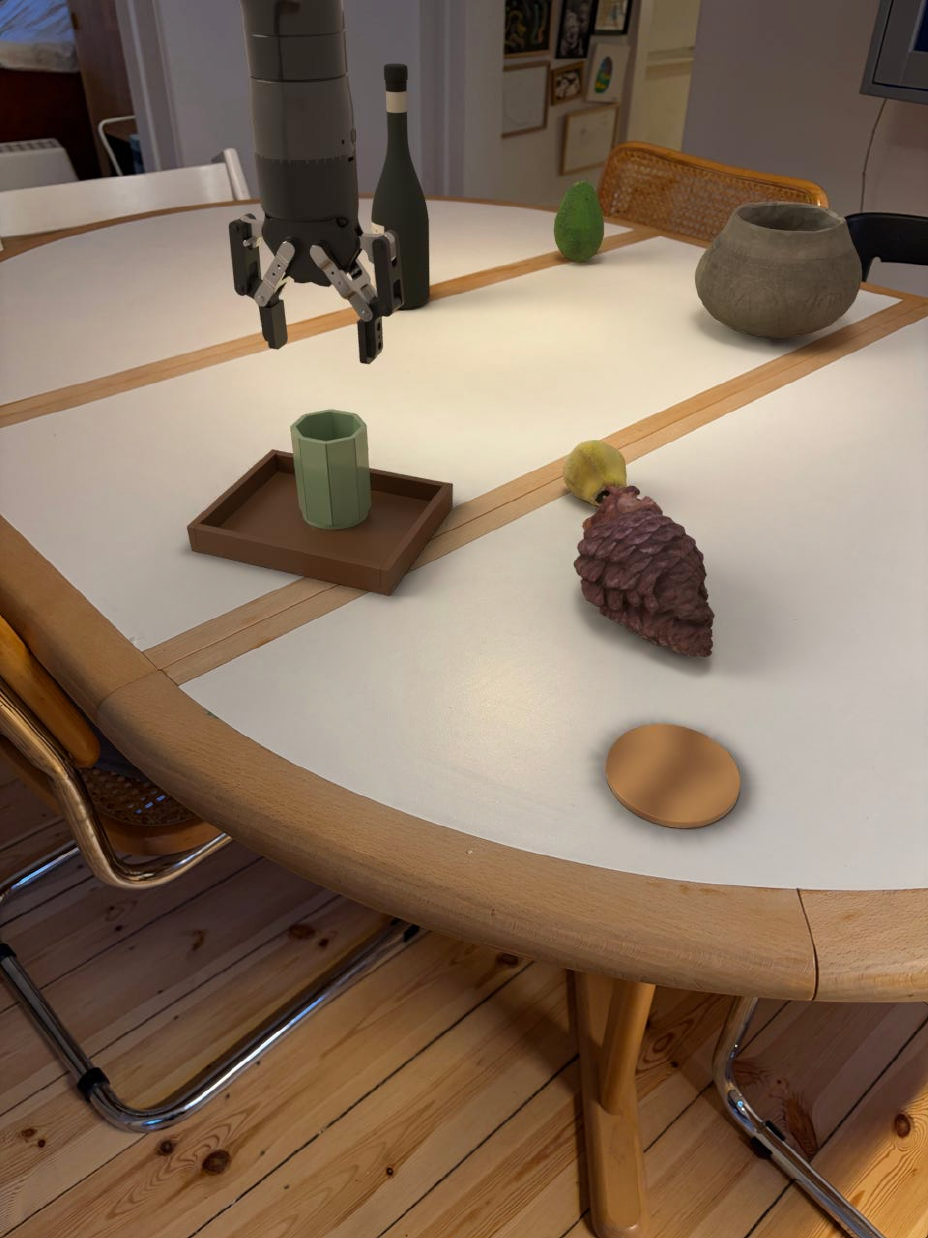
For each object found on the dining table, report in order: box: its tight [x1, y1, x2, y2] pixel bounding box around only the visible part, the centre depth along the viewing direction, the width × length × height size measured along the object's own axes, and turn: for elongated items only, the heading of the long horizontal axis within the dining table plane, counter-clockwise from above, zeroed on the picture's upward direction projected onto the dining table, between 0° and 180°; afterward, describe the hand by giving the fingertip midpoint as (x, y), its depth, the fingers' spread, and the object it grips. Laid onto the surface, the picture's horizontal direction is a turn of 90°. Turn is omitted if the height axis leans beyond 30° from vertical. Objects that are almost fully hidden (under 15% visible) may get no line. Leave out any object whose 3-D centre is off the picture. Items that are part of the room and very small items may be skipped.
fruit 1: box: [553, 180, 605, 263], centre depth 148 cm, size 8×8×12 cm
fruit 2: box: [562, 439, 628, 506], centre depth 91 cm, size 6×6×10 cm
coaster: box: [605, 723, 741, 829], centre depth 64 cm, size 9×9×1 cm
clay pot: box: [694, 200, 863, 339], centre depth 125 cm, size 22×21×15 cm
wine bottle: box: [370, 63, 431, 310], centre depth 127 cm, size 8×8×30 cm
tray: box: [186, 448, 454, 596], centre depth 87 cm, size 20×16×3 cm
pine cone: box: [572, 484, 716, 658], centre depth 75 cm, size 18×10×10 cm
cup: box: [289, 408, 371, 530], centre depth 86 cm, size 6×6×9 cm
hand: (323, 353), depth 79 cm, fingers open, 8 cm apart
